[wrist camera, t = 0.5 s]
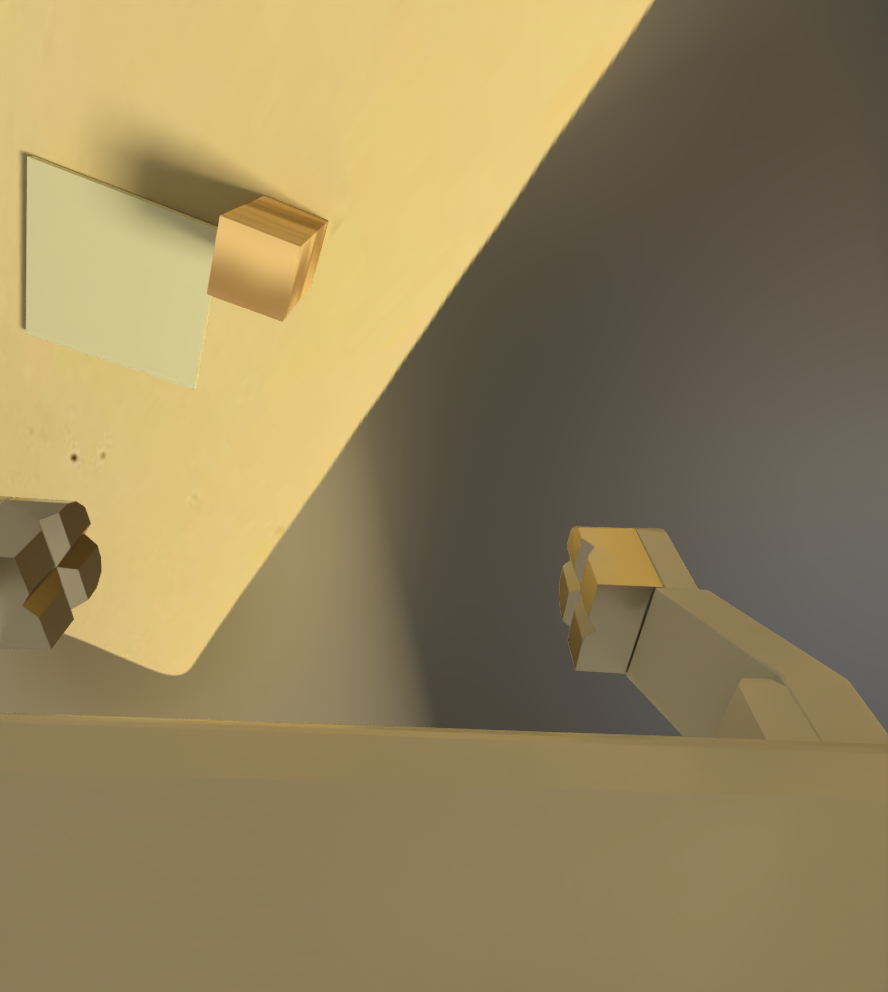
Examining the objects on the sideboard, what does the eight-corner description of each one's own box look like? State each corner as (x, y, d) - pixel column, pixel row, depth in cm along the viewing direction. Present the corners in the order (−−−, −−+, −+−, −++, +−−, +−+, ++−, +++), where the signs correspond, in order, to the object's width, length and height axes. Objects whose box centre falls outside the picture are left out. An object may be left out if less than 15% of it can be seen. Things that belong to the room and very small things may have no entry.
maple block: (264, 195, 45) (219, 215, 36) (328, 220, 46) (300, 246, 37) (252, 259, 48) (206, 294, 39) (312, 282, 49) (282, 321, 40)
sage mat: (33, 155, 44) (27, 156, 43) (223, 229, 47) (220, 230, 46) (31, 331, 51) (25, 333, 50) (197, 386, 54) (193, 389, 53)
